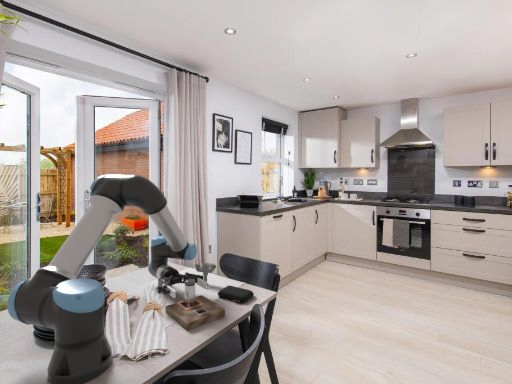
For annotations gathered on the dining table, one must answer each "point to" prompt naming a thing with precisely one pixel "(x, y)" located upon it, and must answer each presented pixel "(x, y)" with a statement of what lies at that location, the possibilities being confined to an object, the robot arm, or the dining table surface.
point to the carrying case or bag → (235, 294)
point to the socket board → (195, 312)
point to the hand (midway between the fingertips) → (191, 290)
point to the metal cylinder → (189, 293)
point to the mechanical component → (205, 269)
